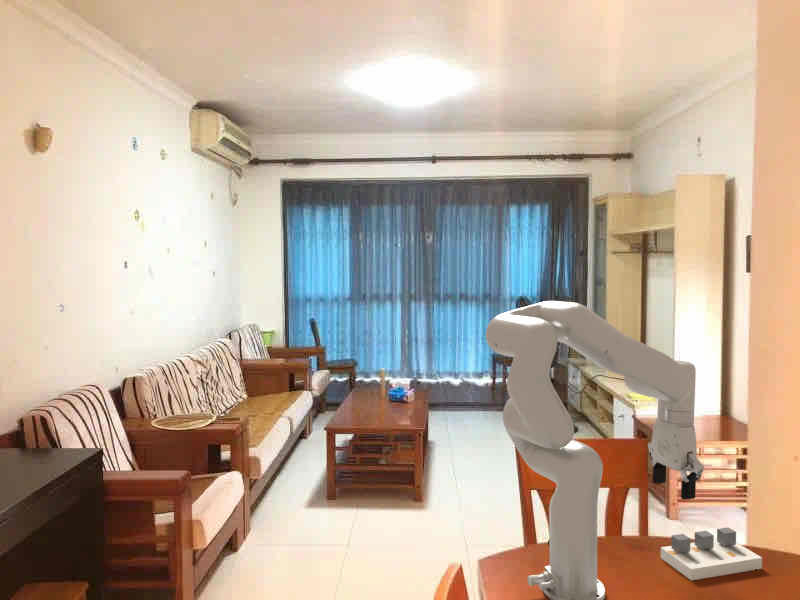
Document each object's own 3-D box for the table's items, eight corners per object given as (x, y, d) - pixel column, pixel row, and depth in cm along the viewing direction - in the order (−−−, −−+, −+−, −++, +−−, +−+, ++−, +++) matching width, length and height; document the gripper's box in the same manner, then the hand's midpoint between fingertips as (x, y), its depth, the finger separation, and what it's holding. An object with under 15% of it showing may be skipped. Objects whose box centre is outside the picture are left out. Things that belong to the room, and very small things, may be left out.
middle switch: (702, 549, 136) (702, 536, 136) (694, 544, 138) (694, 532, 138) (713, 548, 137) (713, 535, 136) (705, 543, 139) (706, 530, 139)
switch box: (691, 580, 129) (691, 568, 129) (660, 557, 138) (660, 546, 138) (761, 568, 133) (762, 557, 133) (727, 547, 143) (727, 536, 142)
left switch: (678, 553, 135) (678, 540, 134) (671, 548, 137) (671, 535, 137) (690, 551, 135) (690, 538, 135) (682, 546, 138) (683, 533, 137)
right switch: (724, 546, 137) (724, 533, 137) (716, 541, 140) (717, 529, 139) (735, 544, 138) (736, 531, 138) (727, 539, 140) (728, 527, 140)
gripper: (637, 407, 143) (635, 478, 144) (687, 427, 127) (685, 506, 128) (664, 406, 145) (662, 476, 146) (718, 425, 128) (715, 503, 129)
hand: (673, 490), depth 137 cm, fingers open, 9 cm apart
